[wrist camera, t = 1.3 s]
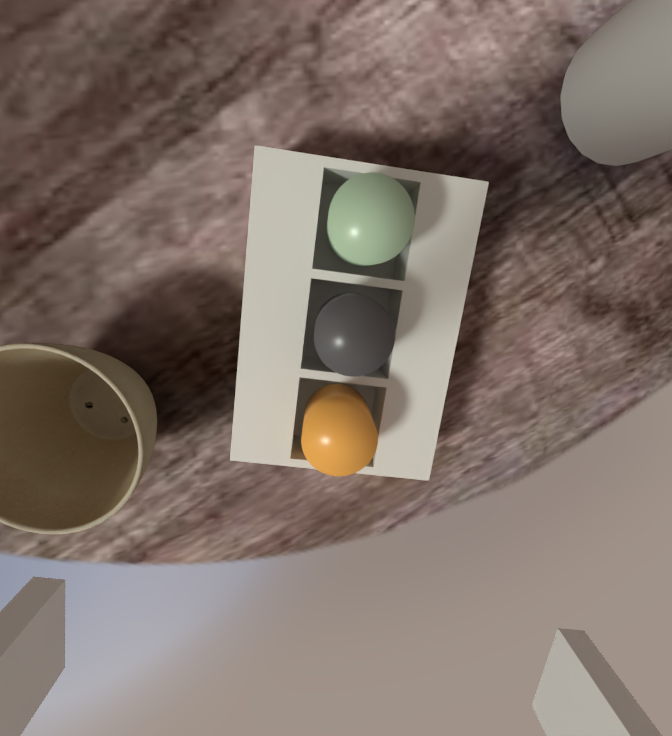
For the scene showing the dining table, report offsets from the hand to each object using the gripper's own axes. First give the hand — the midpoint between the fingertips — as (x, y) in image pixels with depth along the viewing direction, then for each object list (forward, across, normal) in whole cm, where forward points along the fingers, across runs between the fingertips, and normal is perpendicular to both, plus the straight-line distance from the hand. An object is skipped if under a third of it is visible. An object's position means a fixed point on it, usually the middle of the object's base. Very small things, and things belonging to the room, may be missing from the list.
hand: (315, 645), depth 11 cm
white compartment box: (+17, +1, +7) cm, 18 cm away
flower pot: (+17, -14, -1) cm, 22 cm away
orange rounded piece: (+15, +1, +1) cm, 15 cm away
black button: (+15, +1, +7) cm, 16 cm away
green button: (+15, +1, +12) cm, 19 cm away
